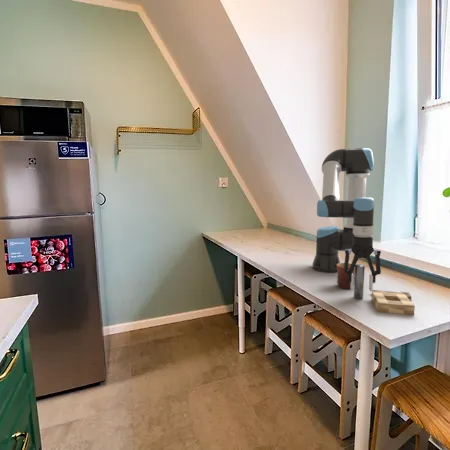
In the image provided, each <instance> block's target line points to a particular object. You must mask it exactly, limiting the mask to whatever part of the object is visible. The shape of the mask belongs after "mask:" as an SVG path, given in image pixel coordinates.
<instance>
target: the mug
mask: <svg viewBox="0 0 450 450" xmlns="http://www.w3.org/2000/svg"><path fill="white" fill-rule="evenodd" d="M336 266H337V270H338V271H337V279H336V283H337V286H338V288H340V289H343V290H344V289H345V290H351V288H350V286H351V282H349V281H348V274H347V273H344V262H340V263H338V264H336ZM350 266H351V263H350V262H349V263H348V270H349V268H350ZM352 273H353V275H354V281H355V268H354V270H353V272H352ZM353 288H354V285H353Z"/></svg>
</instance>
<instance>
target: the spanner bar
mask: <svg viewBox="0 0 450 450" xmlns="http://www.w3.org/2000/svg"><path fill="white" fill-rule="evenodd" d="M372 292H386V293H400V294H405V295H406V296H407V297H408V298H409V300H410V301H411V302H412V296H411V294H410V292H408V291H391V290H390V291H388V290H378V289H373V290H372V291H371V293H372Z"/></svg>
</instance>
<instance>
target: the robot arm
mask: <svg viewBox="0 0 450 450" xmlns="http://www.w3.org/2000/svg"><path fill="white" fill-rule="evenodd" d="M374 165H375V163H374V154H373V150H372V149H370V147H369V148H367V147H359V148H358V147H357V148H339V149H336V150H333V151H332V152H330V153H329V154H328V155H327V156H326V157H325V158H324V160H323V161H322V165H321V171H322V174H323V177H322V195H321V199H320V200H317V203H316V215H317V217H318V218H319V217H320V218H343V219H345V218H346V223H345V224H344V225H343V229H340V227H339V226H337V225H335V226H334V225H331V226H323V227H319V228H318V229H317V230H316V236H315V237H316V244H315V246H316V248H315V252H316V253H315V256H314V259H313V261H312V269H313V270H315V271H318V272H322V273H338V270H337V266H336V264H338V263H341V261H340V257H339V252H344V254H345V257H344V262H343V263H344V273H347V274H348V281H349V282H351V286H350V288H351V289H350V290H351V291H354V287H353V285H354V275H353V273H352V272H353V270H354V268H355V265H357V263H358V261H359V259H366V262H367V265H368V267H369V270H370V274H369V277H368V279H369V281H368V282H369V283H368V290H369V291H370V292H372V290H374V289H373V288H374V287H373V284H376V276H377V275H382V271H381V269H382V268H381V258H380V257H381V252H382V251H381V250H380V249H375V248H374V246H373V244H374V243H373V242H374V237H373V235H374V213H375V212H374V211H375V200H374V198H373V197H367V196H366V195H367V180H368V179H367V178H368V177H369V176H370V175H371V172H373V171H374ZM341 172H345V176H346V177H347V178H348V187H347V188H348V190H347V191H348V192H347V193H348V194H347V200H340V173H341ZM351 252H352V253H353V259H352V261H351V263H350V262H349V261H350V255H351ZM372 254H374V259H375V260H374V261H375V267H374V266H373V265H374V264H373V262H372V259H371V255H372ZM348 263H350V264H351V266H350V268H349V270H348Z"/></svg>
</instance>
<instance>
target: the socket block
mask: <svg viewBox="0 0 450 450" xmlns="http://www.w3.org/2000/svg"><path fill="white" fill-rule="evenodd" d="M371 301H372V303H373V305H374V307H375V308H376V310H377V312H378V313H385V314H386V313H388V314H397V315H398V314H399V315H409V316H411V315H412V316H414V315H415V310H416V309H415V305H414V302H412V300H411V301H410V300H409V298H408V297H407V296H406V295H405V294H400V293H386V292H372V291H371Z"/></svg>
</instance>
